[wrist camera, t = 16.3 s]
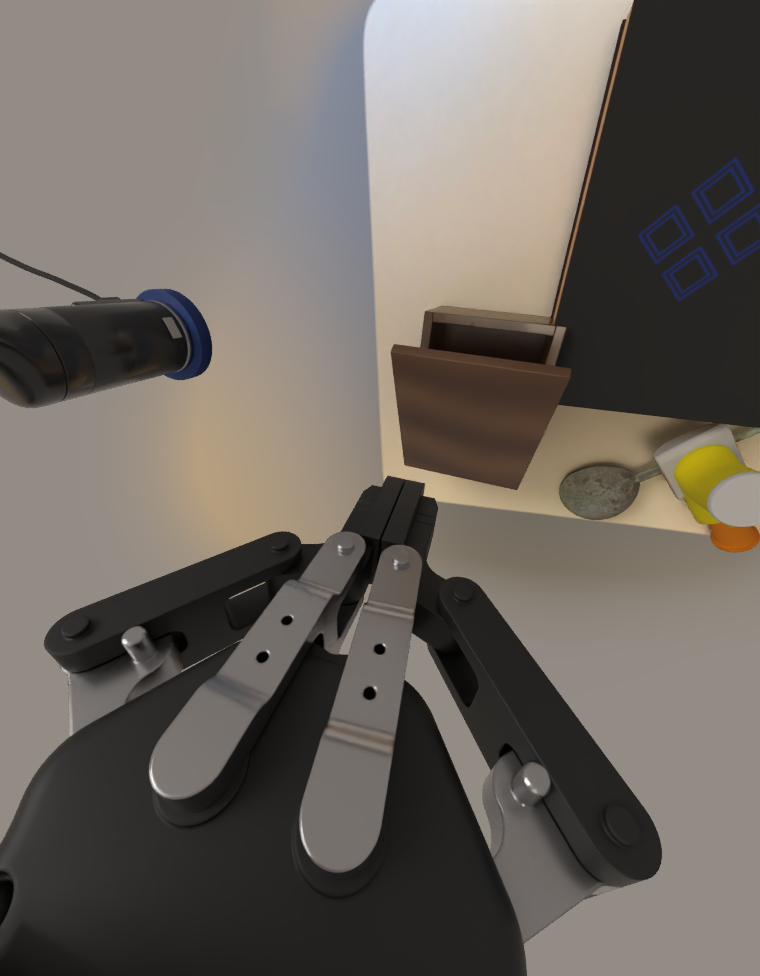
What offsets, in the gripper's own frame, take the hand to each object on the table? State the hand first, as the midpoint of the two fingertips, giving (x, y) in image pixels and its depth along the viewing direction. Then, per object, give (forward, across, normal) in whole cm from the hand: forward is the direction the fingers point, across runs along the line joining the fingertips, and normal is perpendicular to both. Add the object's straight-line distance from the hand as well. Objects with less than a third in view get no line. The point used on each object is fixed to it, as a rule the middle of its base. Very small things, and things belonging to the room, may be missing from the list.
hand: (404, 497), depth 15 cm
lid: (+17, -2, +5) cm, 18 cm away
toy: (+17, -27, +10) cm, 33 cm away
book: (+30, -16, -9) cm, 35 cm away
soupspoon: (+27, -20, +7) cm, 35 cm away
